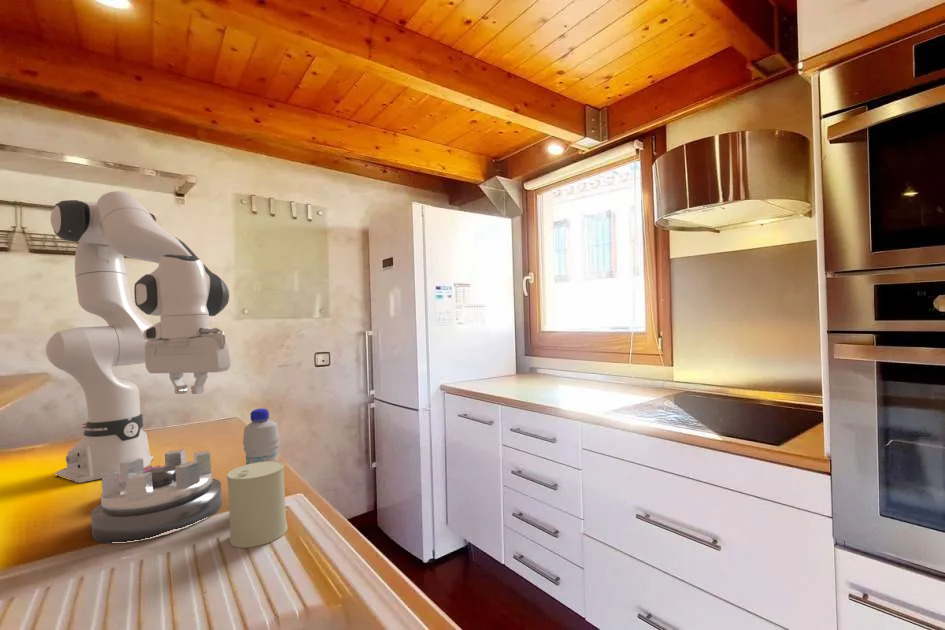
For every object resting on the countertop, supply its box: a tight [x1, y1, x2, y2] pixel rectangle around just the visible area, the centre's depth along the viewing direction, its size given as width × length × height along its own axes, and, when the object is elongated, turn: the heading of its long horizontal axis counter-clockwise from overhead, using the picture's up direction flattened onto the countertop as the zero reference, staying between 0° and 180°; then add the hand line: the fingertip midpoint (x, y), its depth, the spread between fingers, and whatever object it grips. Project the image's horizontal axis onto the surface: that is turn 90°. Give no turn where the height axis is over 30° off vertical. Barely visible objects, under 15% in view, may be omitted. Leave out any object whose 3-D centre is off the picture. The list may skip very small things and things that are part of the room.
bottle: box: [242, 408, 280, 465], centre depth 91 cm, size 7×7×20 cm
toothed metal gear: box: [100, 448, 213, 516], centre depth 89 cm, size 18×18×6 cm
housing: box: [90, 477, 223, 544], centre depth 89 cm, size 21×21×4 cm
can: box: [226, 461, 288, 549], centre depth 79 cm, size 9×9×12 cm
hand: (189, 393), depth 96 cm, fingers open, 3 cm apart
